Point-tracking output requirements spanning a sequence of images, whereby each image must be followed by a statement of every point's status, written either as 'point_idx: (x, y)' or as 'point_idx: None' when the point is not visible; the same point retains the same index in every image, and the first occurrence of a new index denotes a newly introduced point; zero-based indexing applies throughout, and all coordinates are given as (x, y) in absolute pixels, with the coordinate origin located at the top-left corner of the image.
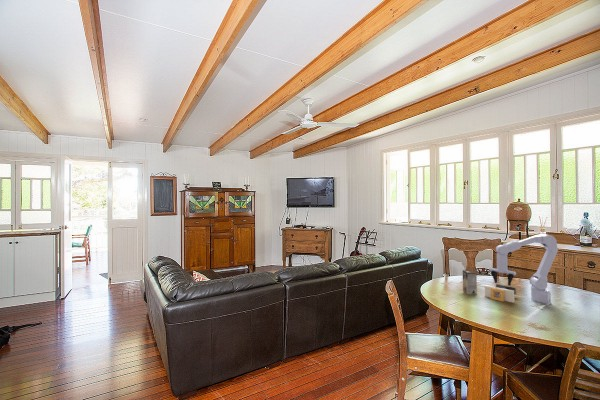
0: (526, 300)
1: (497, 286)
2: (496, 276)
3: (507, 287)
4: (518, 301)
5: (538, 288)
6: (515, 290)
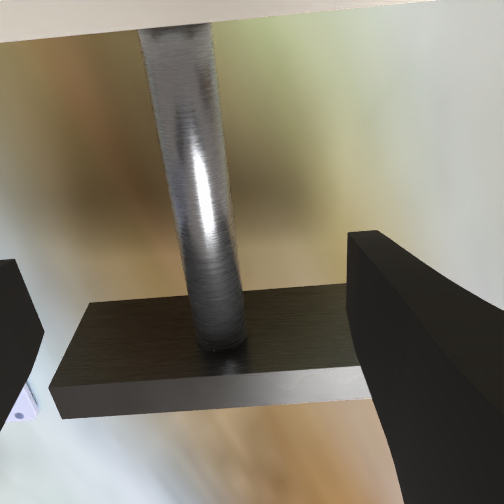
0: (48, 341)
1: None
2: (412, 463)
3: (186, 360)
4: (58, 232)
5: None
6: (68, 354)
